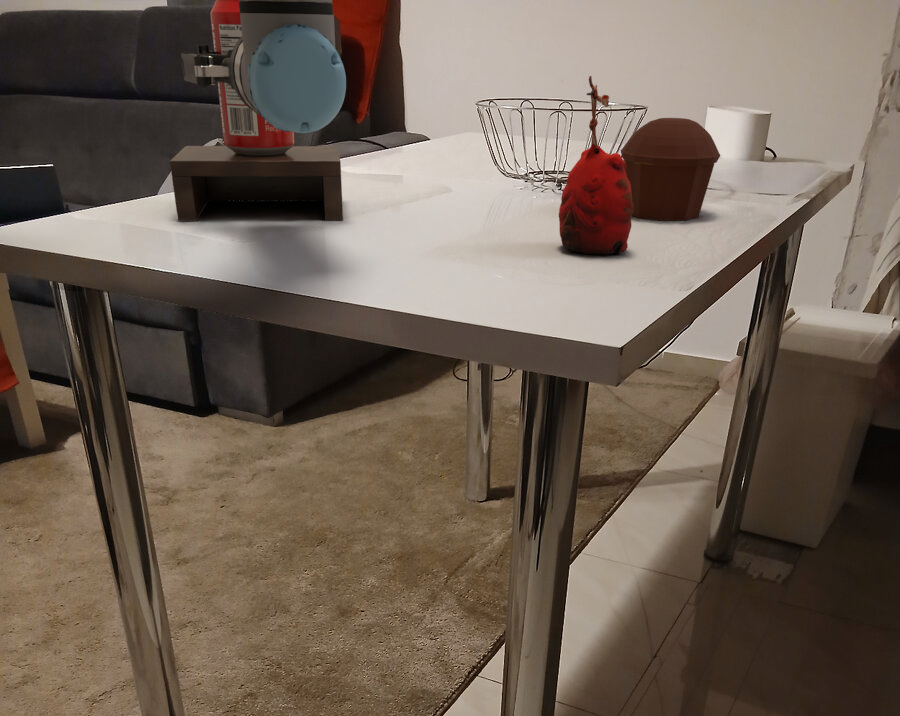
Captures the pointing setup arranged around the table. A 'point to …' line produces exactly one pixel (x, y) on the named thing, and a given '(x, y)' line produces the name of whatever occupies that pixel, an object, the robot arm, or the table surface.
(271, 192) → the stand
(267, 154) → the soda can
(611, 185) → the red clay folk toy
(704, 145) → the muffin
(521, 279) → the table surface
